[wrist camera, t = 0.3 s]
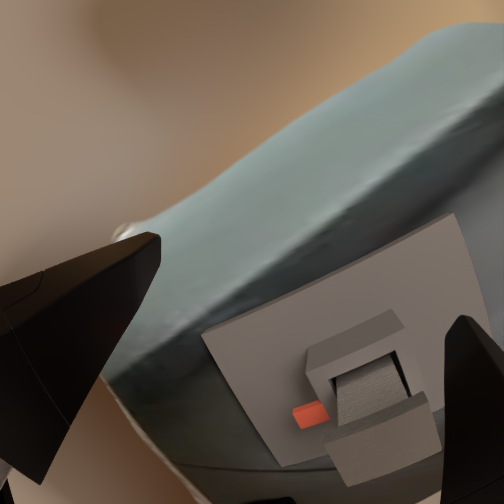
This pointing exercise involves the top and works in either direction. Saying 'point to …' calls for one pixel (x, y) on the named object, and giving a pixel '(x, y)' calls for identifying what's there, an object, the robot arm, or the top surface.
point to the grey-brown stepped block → (378, 424)
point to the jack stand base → (348, 335)
